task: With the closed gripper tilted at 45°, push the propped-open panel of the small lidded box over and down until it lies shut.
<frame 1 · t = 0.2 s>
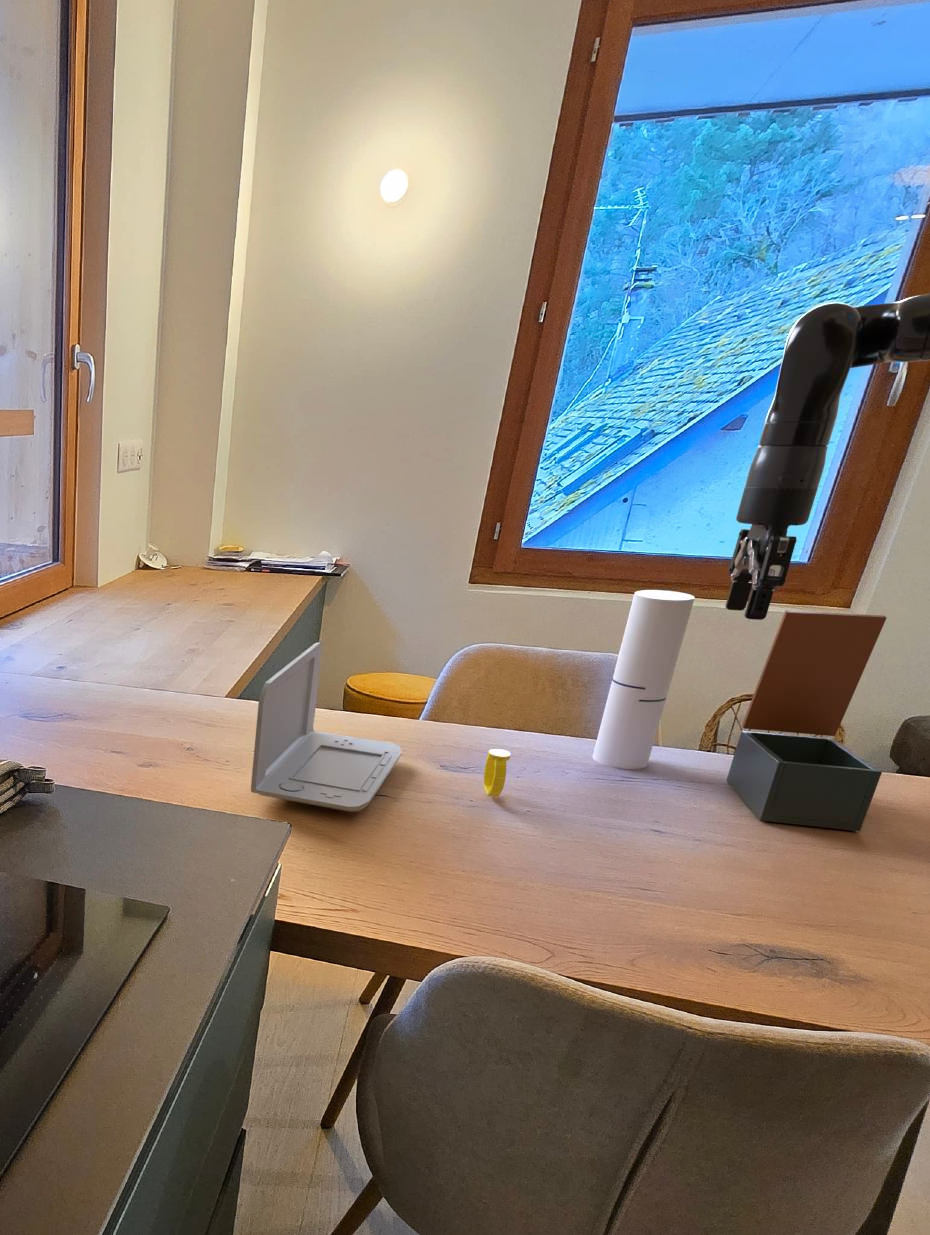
hand: (744, 614, 128), 24 cm above the table, tool pointing down, fingers open, 8 cm apart
lidded box: (788, 806, 128), on the table
panel: (810, 674, 127), point 16 cm above the table, hinge at 80.0°
game console: (332, 773, 137), point 1 cm above the table
cylindrical container: (618, 765, 144), on the table
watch: (490, 794, 132), on the table
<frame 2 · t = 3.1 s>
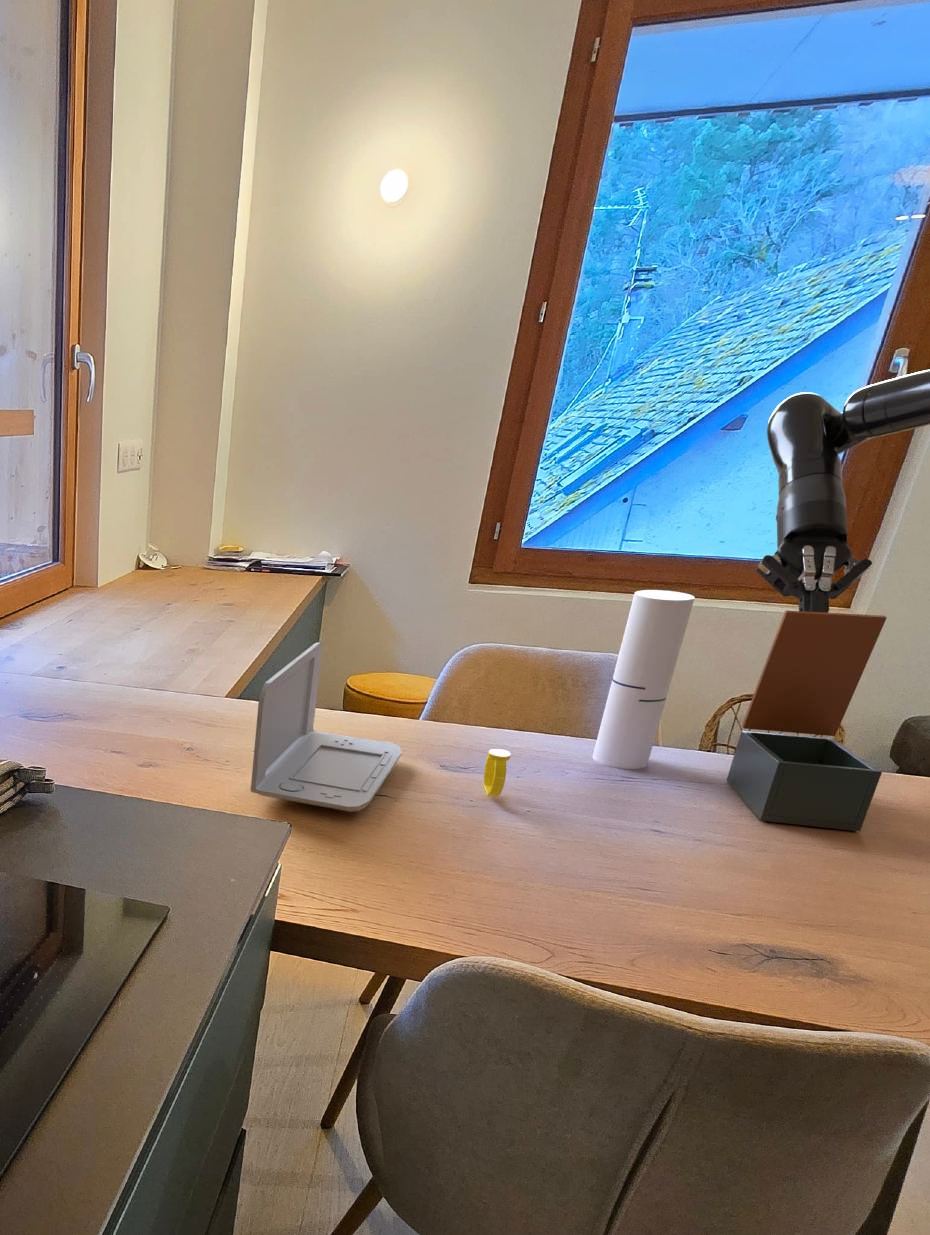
hand: (814, 619, 128), 23 cm above the table, tool tilted 45°, fingers closed
nothing on the table moved.
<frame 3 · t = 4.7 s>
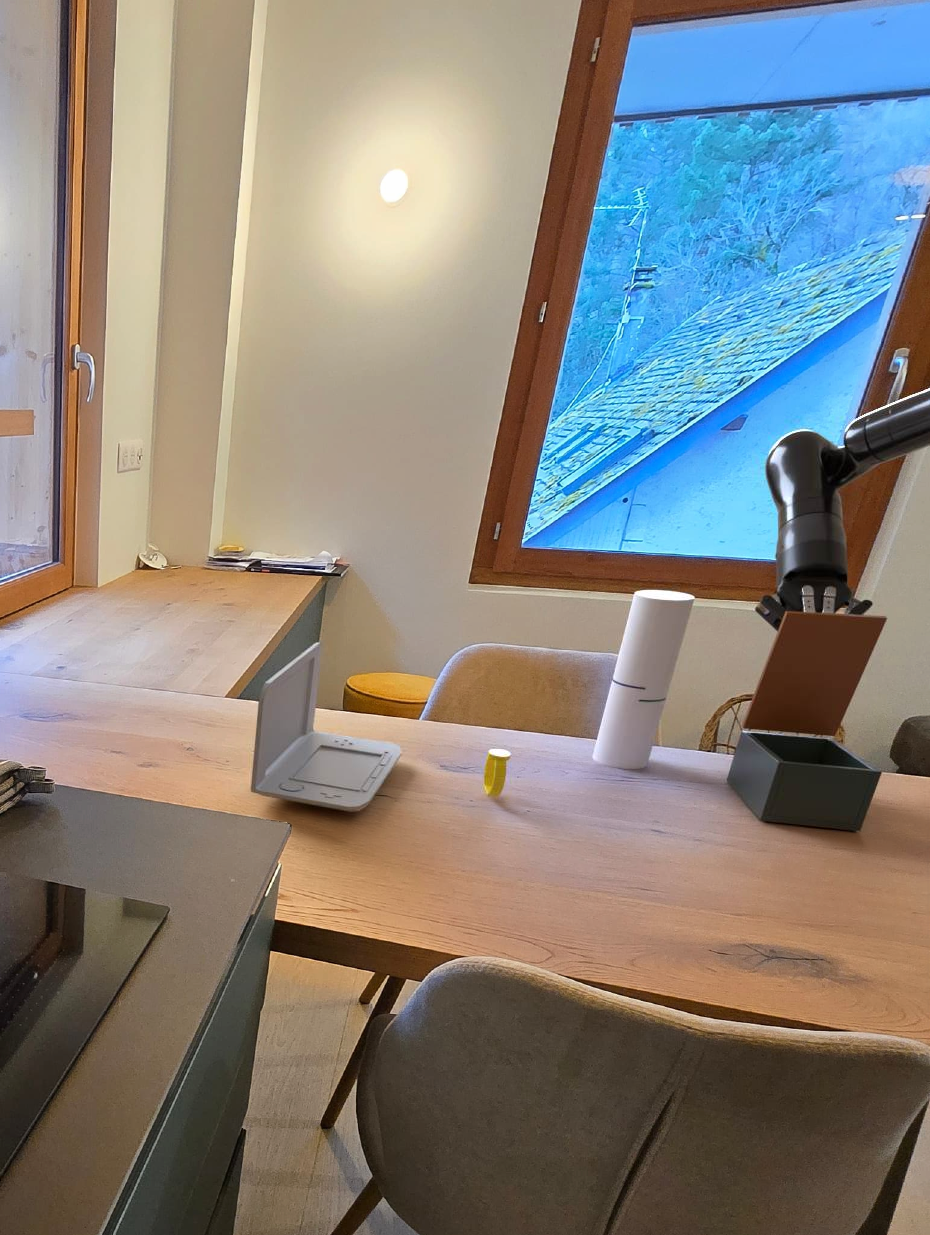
hand: (814, 660, 126), 18 cm above the table, tool tilted 45°, fingers closed
panel: (810, 674, 127), point 16 cm above the table, hinge at 79.2°, touching gripper
everything else where it was.
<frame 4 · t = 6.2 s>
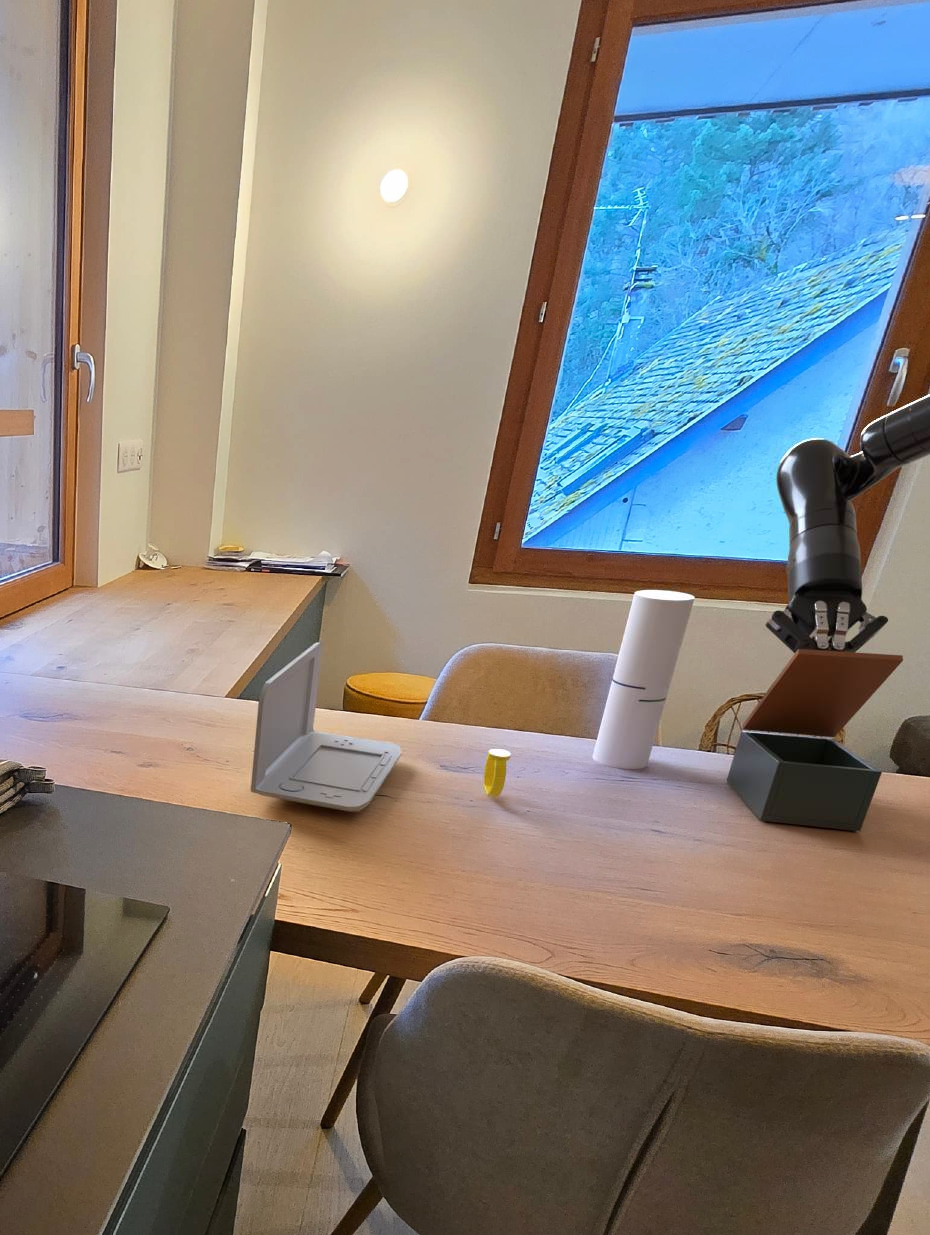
hand: (827, 679, 122), 17 cm above the table, tool tilted 45°, fingers closed
panel: (817, 695, 124), point 15 cm above the table, hinge at 49.3°, touching gripper
everything else where it was.
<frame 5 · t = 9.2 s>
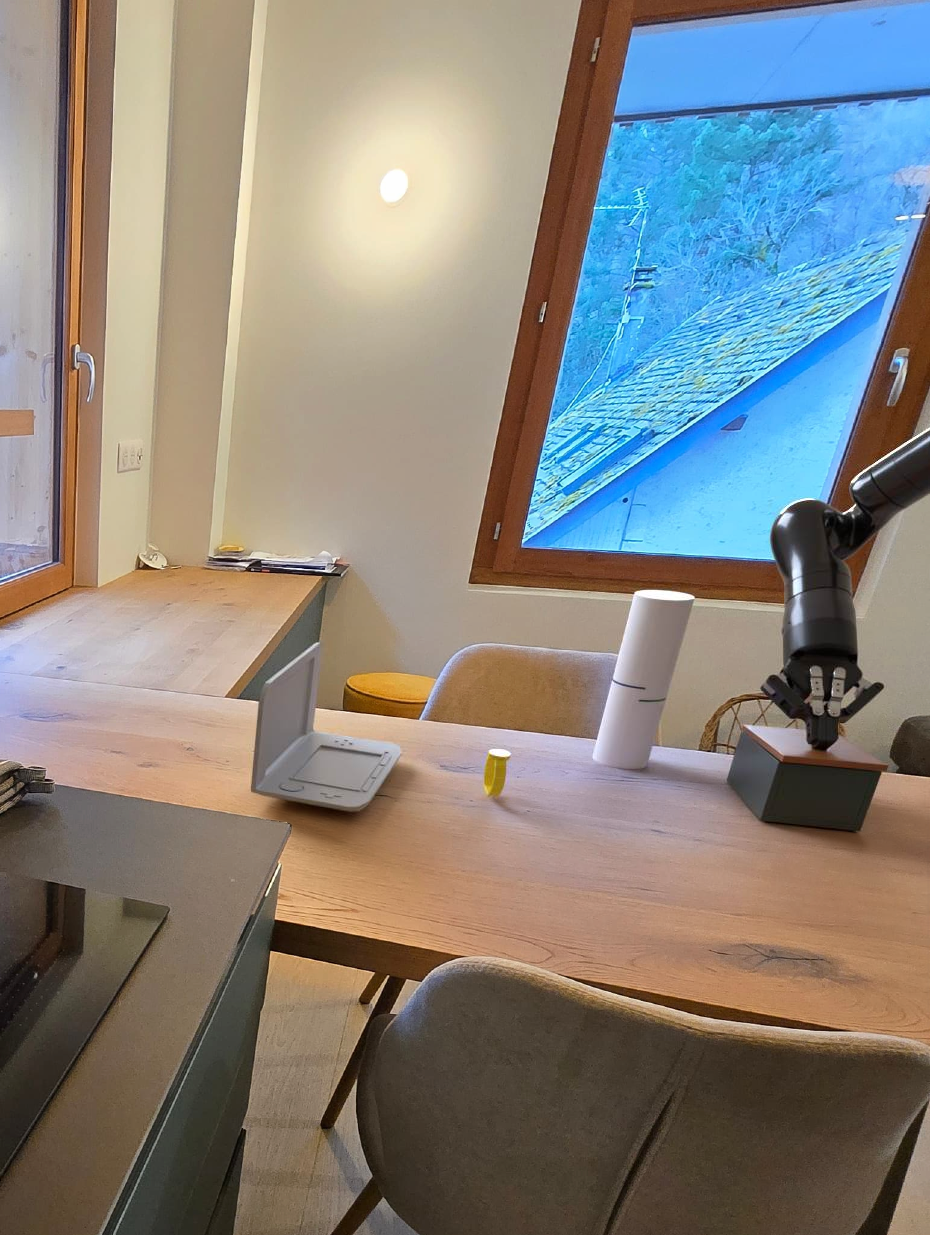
hand: (822, 746, 120), 9 cm above the table, tool tilted 45°, fingers closed
panel: (809, 746, 124), point 8 cm above the table, hinge at 0.9°, touching gripper
everything else where it was.
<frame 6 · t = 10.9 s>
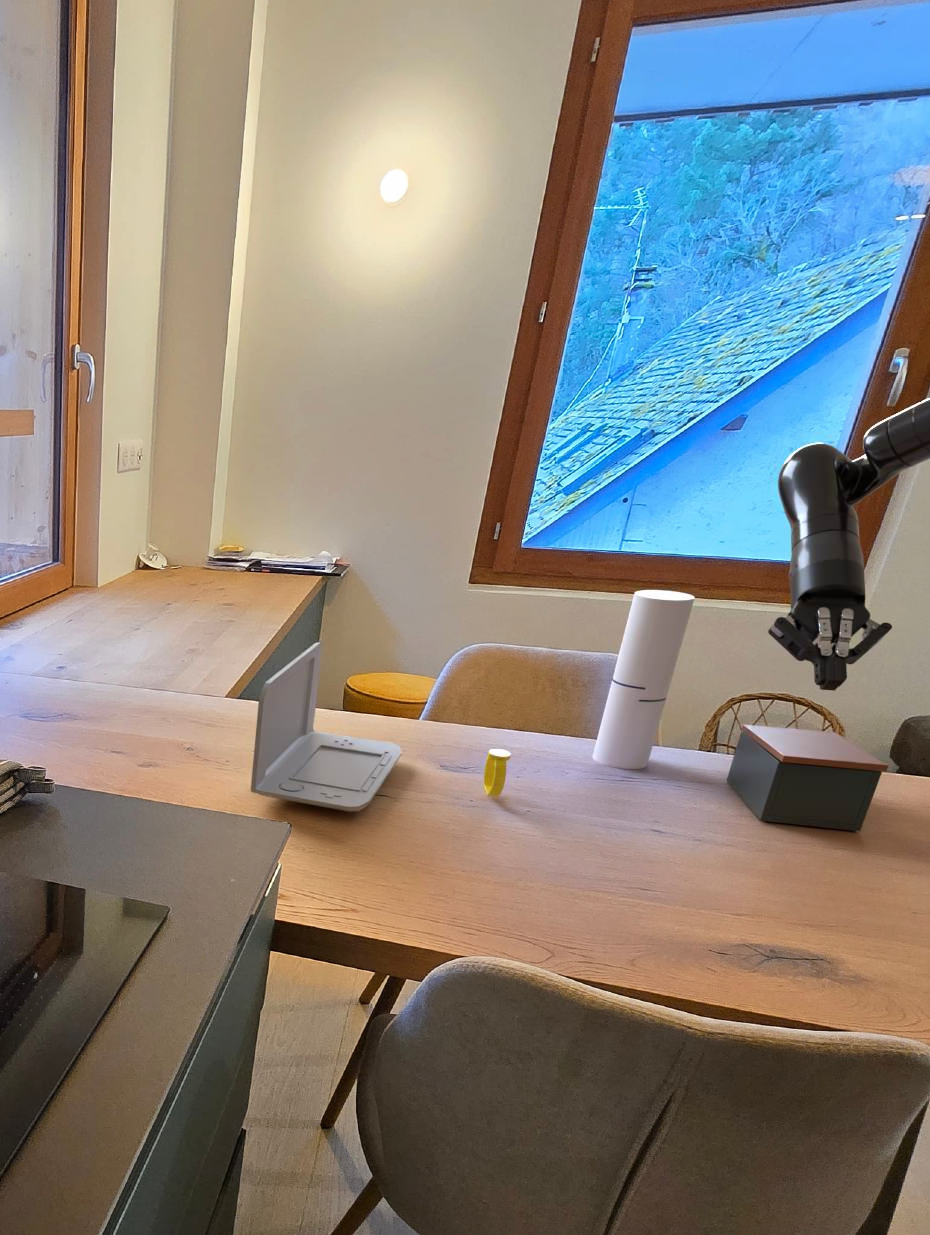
hand: (831, 686, 121), 16 cm above the table, tool tilted 45°, fingers closed
panel: (809, 746, 124), point 8 cm above the table, hinge at 0.9°
everything else where it was.
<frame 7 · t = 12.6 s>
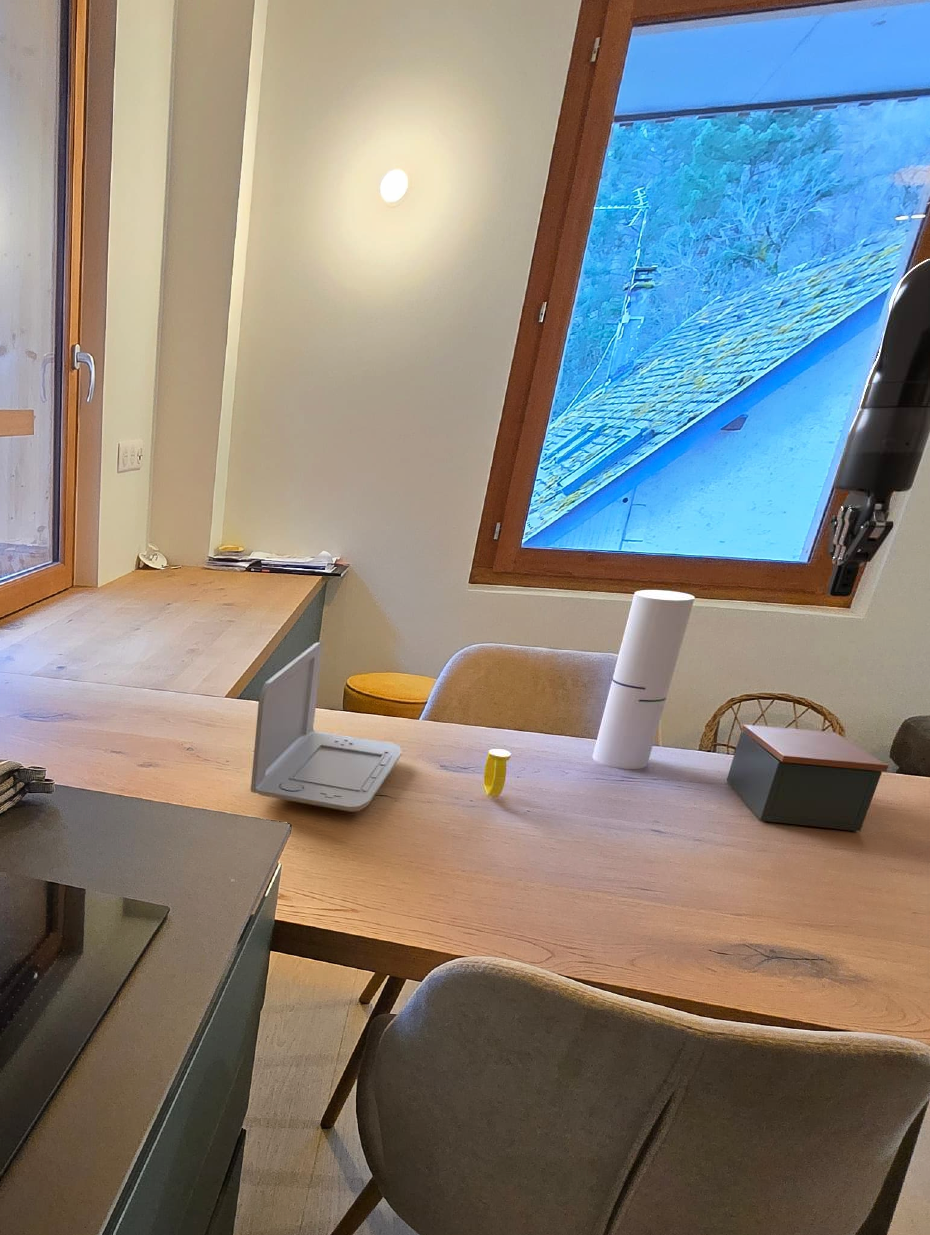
hand: (837, 595, 123), 27 cm above the table, tool pointing down, fingers closed
nothing on the table moved.
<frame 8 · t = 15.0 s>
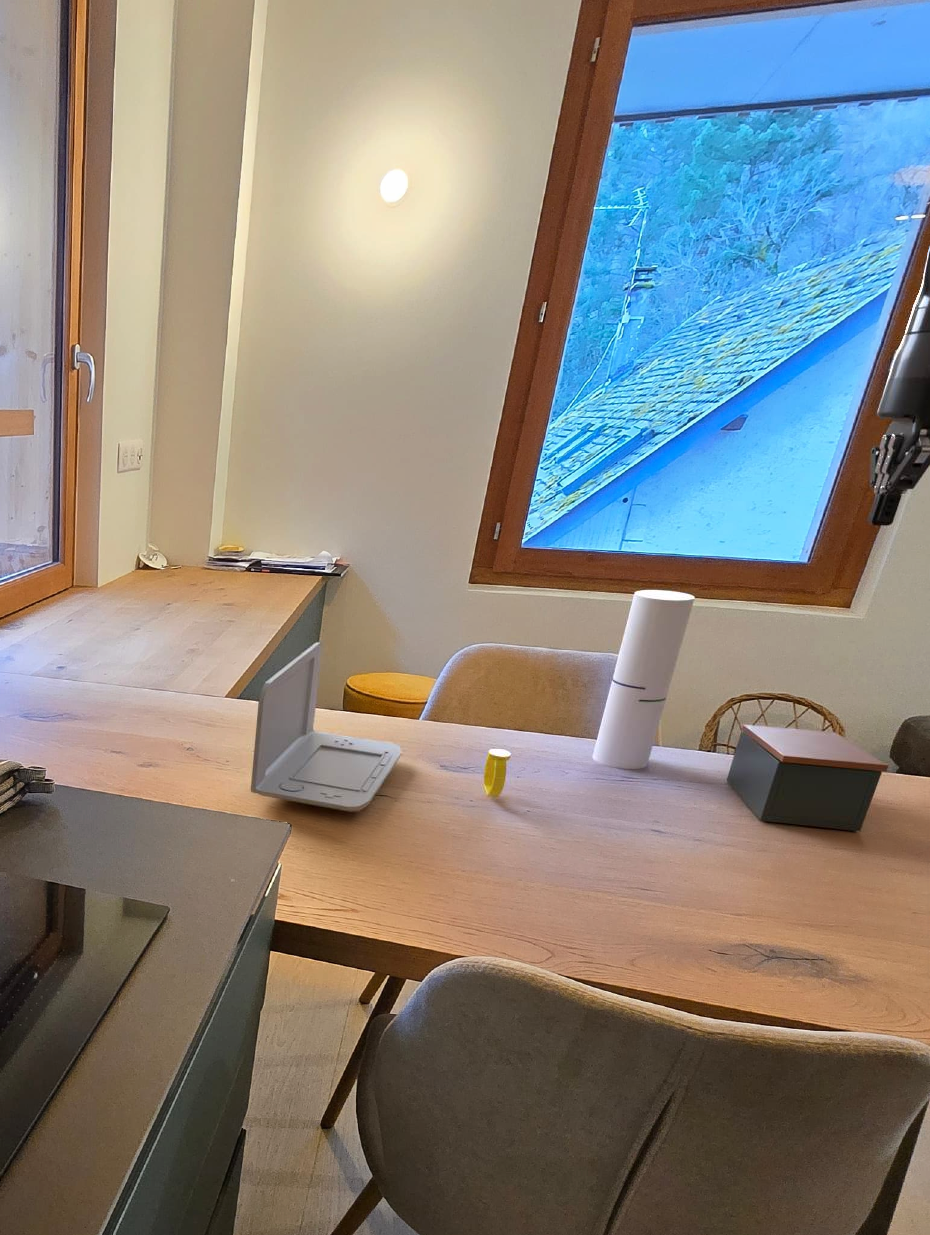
hand: (878, 524, 123), 35 cm above the table, tool pointing down, fingers closed
nothing on the table moved.
at the end: panel at +1° (first picture: +80°); cylindrical container moved 0.0 cm from its start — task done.
